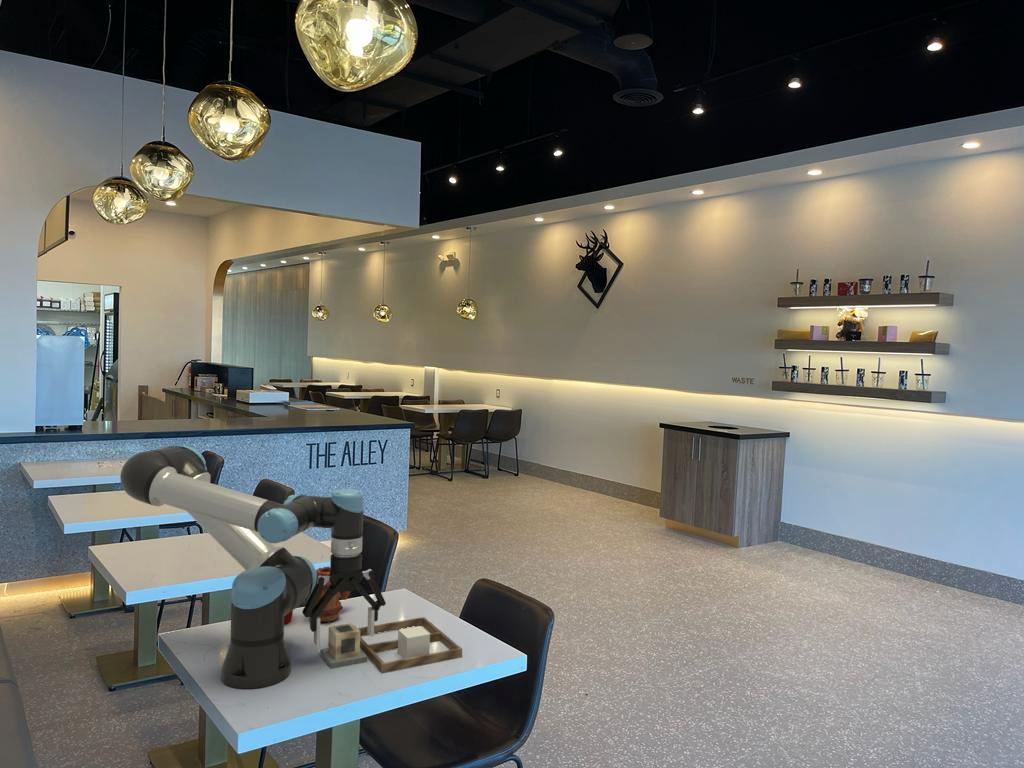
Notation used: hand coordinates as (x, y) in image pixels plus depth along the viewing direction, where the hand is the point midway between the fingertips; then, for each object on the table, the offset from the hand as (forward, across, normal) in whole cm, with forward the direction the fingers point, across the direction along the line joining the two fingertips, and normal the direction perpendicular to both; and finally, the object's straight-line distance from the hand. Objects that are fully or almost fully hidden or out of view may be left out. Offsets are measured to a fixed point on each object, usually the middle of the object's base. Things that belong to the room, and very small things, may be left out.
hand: (344, 639), depth 175 cm
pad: (+5, 0, 0) cm, 5 cm away
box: (+5, +16, 0) cm, 17 cm away
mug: (+5, +6, +28) cm, 29 cm away
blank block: (+5, +16, -6) cm, 18 cm away
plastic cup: (+5, -8, +30) cm, 32 cm away
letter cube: (+3, 0, 0) cm, 3 cm away
